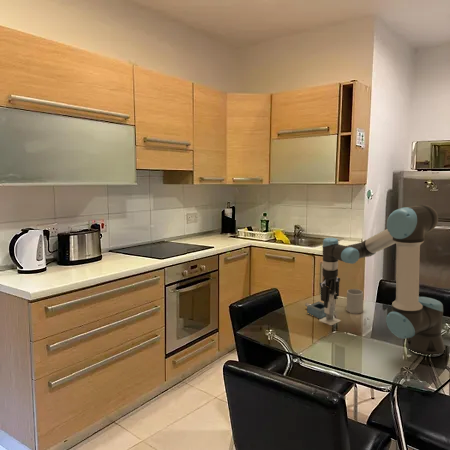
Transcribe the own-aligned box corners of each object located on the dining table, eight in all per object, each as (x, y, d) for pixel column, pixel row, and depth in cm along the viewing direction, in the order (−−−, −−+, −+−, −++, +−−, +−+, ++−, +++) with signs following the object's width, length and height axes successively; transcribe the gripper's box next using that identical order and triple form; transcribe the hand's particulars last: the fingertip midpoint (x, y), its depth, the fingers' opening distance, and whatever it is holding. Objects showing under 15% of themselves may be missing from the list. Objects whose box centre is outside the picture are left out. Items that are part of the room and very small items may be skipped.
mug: (365, 312, 219) (366, 293, 217) (351, 314, 218) (351, 295, 215) (354, 304, 231) (354, 285, 229) (340, 306, 229) (340, 287, 227)
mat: (340, 321, 210) (340, 320, 210) (330, 325, 206) (330, 325, 206) (328, 316, 217) (328, 315, 217) (318, 320, 212) (318, 319, 212)
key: (327, 315, 215) (327, 287, 212) (337, 319, 210) (337, 290, 207) (322, 317, 212) (322, 289, 209) (332, 321, 207) (332, 292, 204)
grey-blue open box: (332, 314, 219) (332, 306, 218) (321, 319, 214) (321, 311, 213) (312, 306, 230) (312, 298, 230) (300, 311, 225) (300, 303, 224)
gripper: (334, 263, 213) (334, 305, 218) (313, 270, 204) (313, 314, 208) (346, 266, 207) (346, 309, 212) (325, 273, 198) (324, 318, 202)
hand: (329, 311), depth 210 cm, fingers closed on key, 4 cm apart
